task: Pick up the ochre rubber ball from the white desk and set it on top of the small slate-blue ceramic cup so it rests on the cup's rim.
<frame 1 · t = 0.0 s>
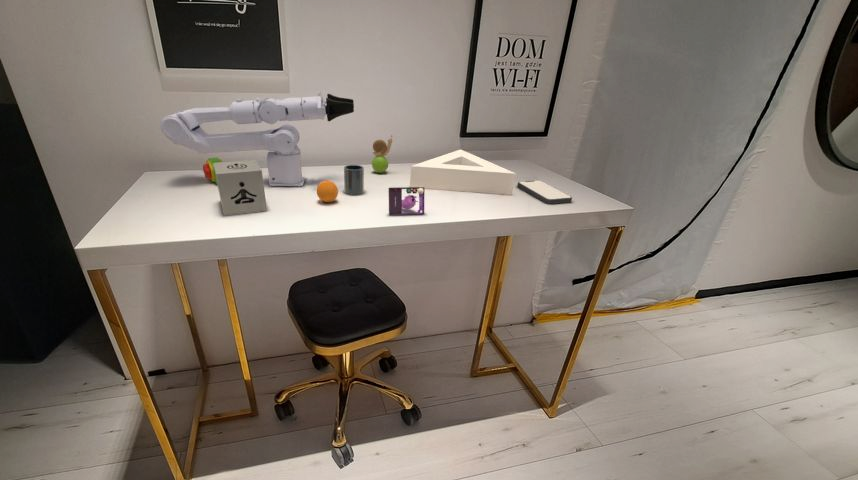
hand: (353, 105, 107), 22 cm above the table, tool horizontal, fingers open, 7 cm apart
snail figurine: (381, 173, 129), on the table
icon cube: (243, 206, 99), on the table
purple product box: (405, 212, 100), on the table
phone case: (542, 194, 116), on the table
ball: (327, 201, 104), on the table
triangle block: (447, 184, 121), on the table
cup: (354, 192, 111), on the table
red green curved piece: (215, 178, 118), on the table
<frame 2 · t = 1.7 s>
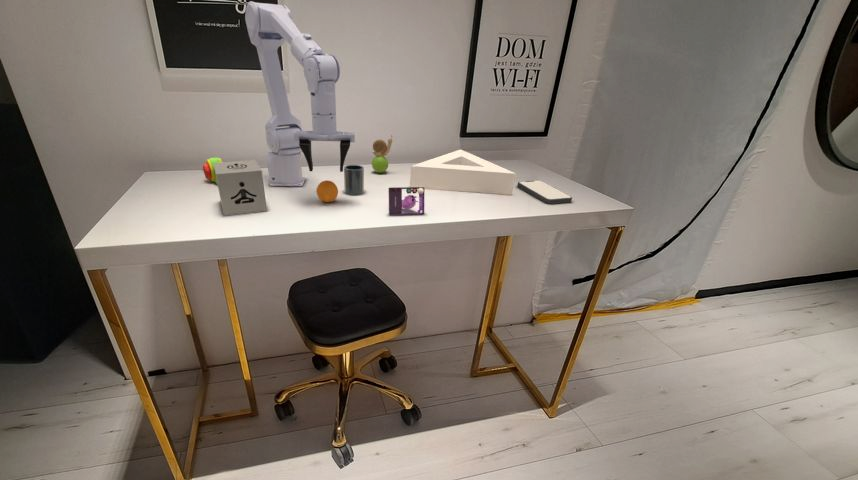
hand: (326, 170, 100), 8 cm above the table, tool pointing down, fingers open, 7 cm apart
nothing on the table moved.
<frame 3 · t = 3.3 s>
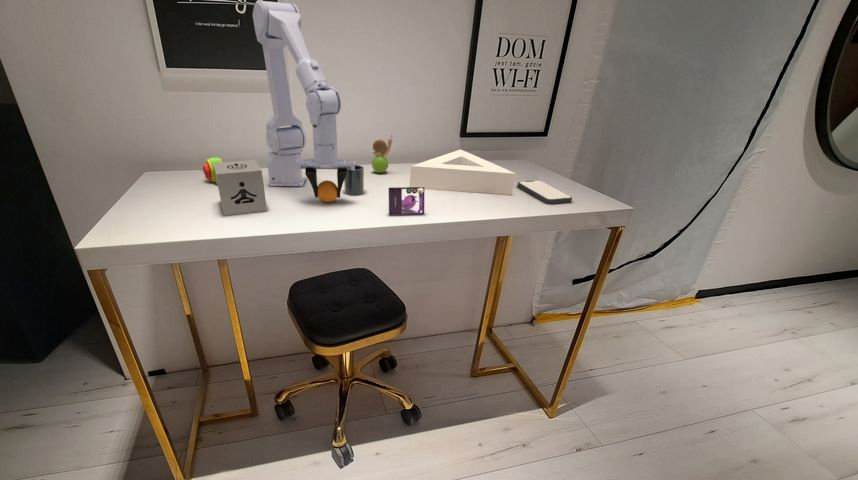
hand: (327, 196, 103), 1 cm above the table, tool pointing down, fingers closed on ball, 5 cm apart
ball: (328, 201, 104), on the table, touching gripper
everything else where it was.
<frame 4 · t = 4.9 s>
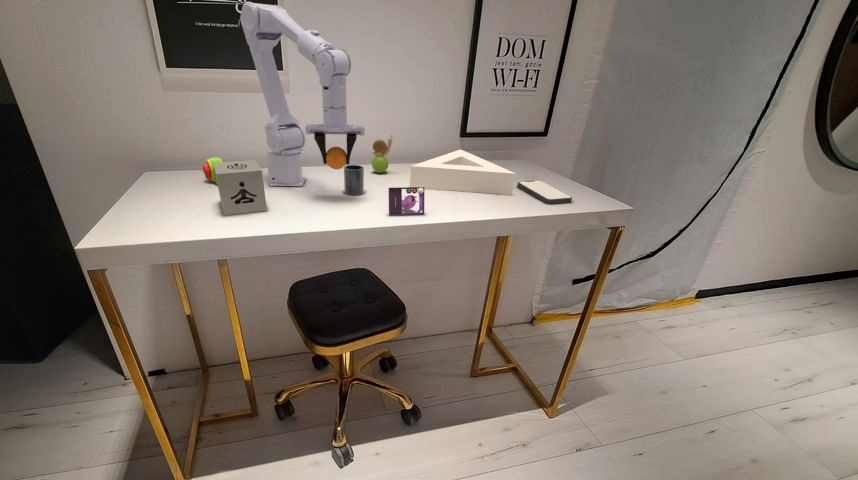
hand: (336, 163, 102), 9 cm above the table, tool pointing down, fingers closed on ball, 5 cm apart
ball: (336, 168, 102), point 8 cm above the table, touching gripper
everything else where it was.
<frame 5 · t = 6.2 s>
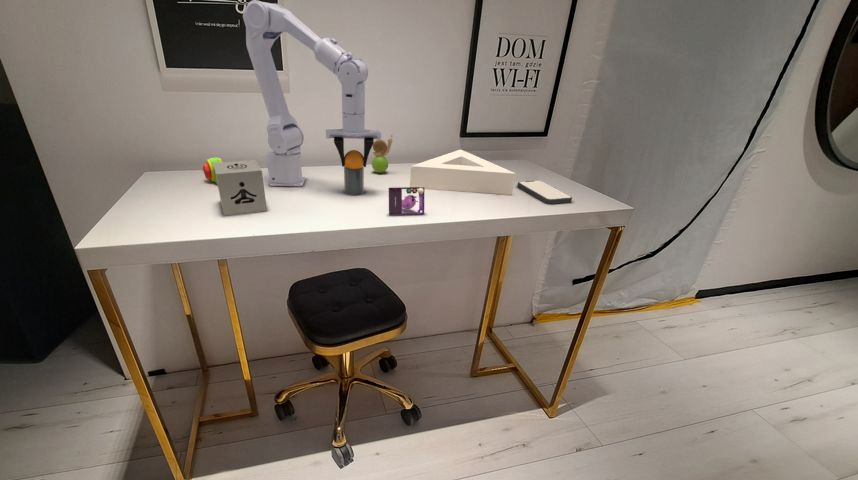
hand: (353, 165, 107), 7 cm above the table, tool pointing down, fingers closed on ball, 5 cm apart
ball: (354, 171, 108), point 6 cm above the table, touching gripper
everything else where it was.
when the fingers open (7 cm above the table, at t = 6.7 s): ball stays where it is, resting on cup.
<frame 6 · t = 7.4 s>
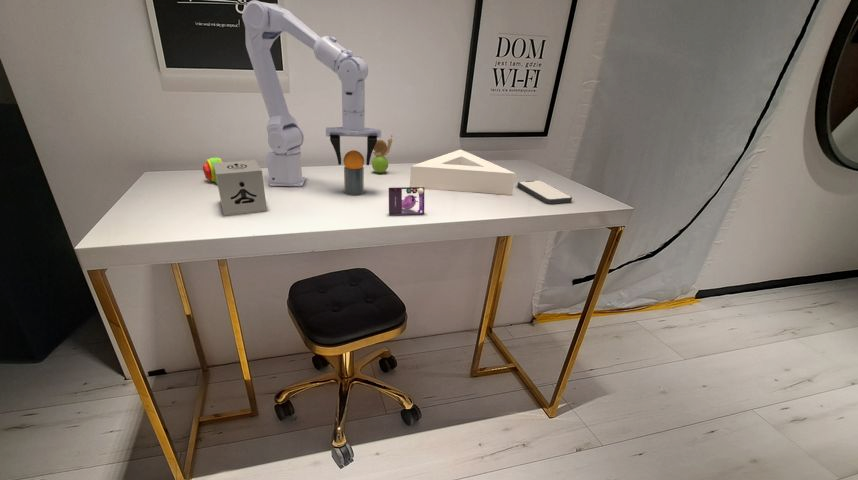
hand: (353, 164, 107), 8 cm above the table, tool pointing down, fingers open, 7 cm apart
ball: (354, 171, 108), point 6 cm above the table, touching cup
cup: (354, 192, 111), on the table, touching ball
everything else where it was.
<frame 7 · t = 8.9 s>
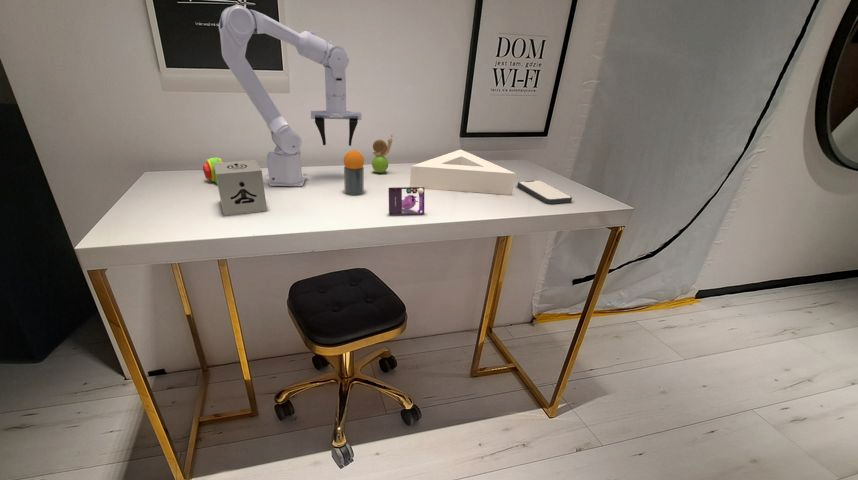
hand: (337, 144, 118), 10 cm above the table, tool pointing down, fingers open, 7 cm apart
nothing on the table moved.
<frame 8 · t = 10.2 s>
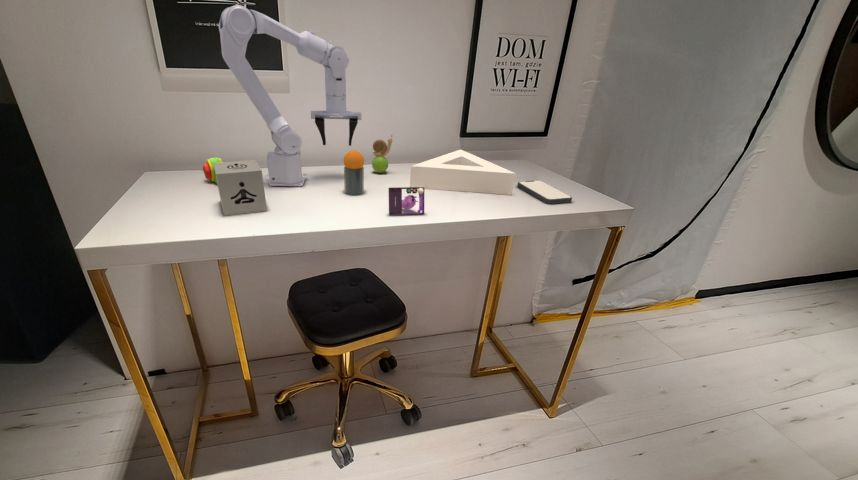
hand: (337, 144, 118), 10 cm above the table, tool pointing down, fingers open, 7 cm apart
nothing on the table moved.
at the end: ball 0.0 cm off-centre in the cup, point 5.9 cm above the cup's base; cup tilted 0°; ball touching cup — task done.
